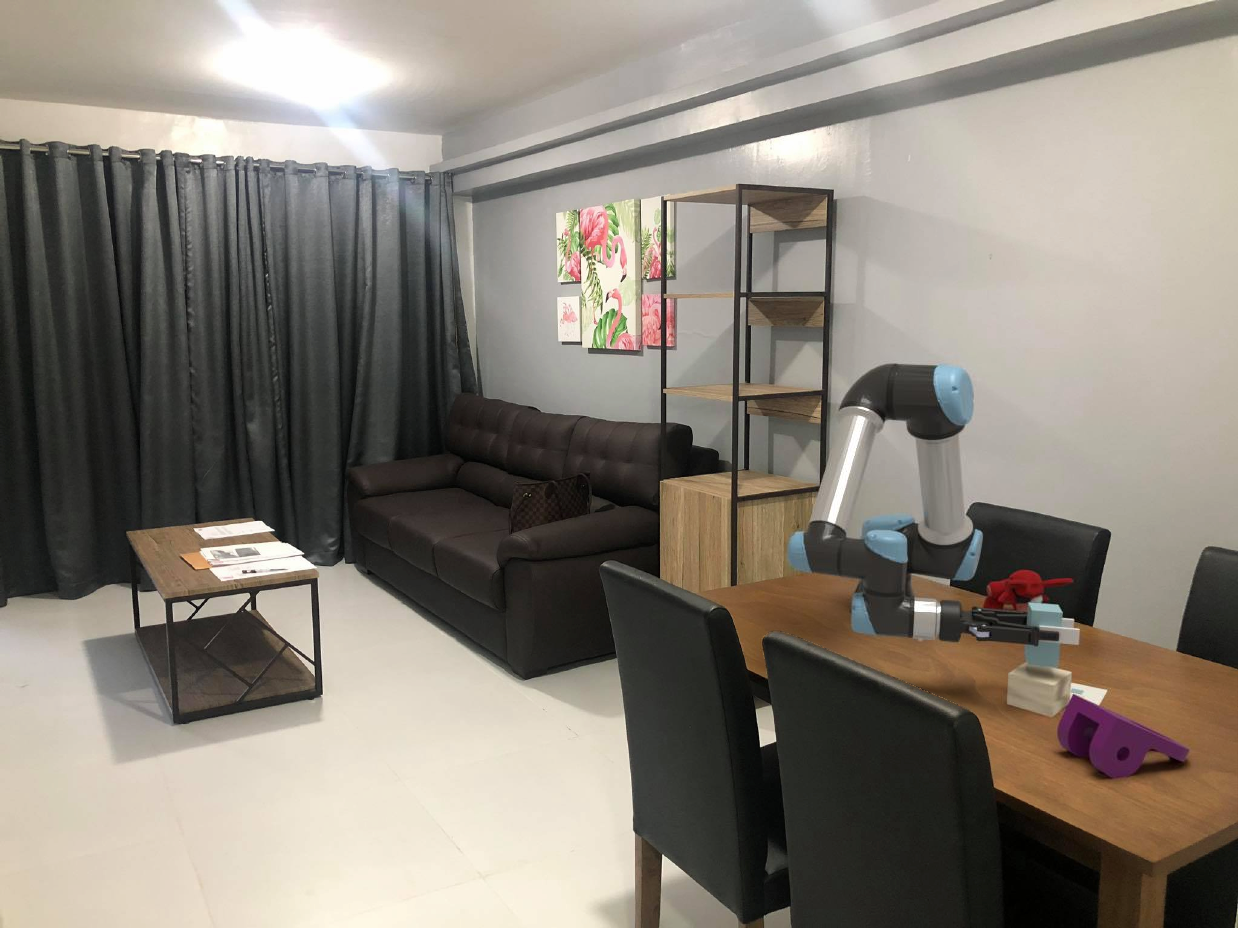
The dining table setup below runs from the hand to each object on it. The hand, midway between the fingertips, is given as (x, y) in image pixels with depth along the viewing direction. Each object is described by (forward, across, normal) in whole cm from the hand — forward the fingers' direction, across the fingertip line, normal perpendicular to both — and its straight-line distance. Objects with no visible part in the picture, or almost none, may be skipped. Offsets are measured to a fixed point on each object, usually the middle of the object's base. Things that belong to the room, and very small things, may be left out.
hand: (1075, 631), depth 173 cm
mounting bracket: (+6, +19, -15) cm, 25 cm away
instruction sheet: (+2, -6, -14) cm, 16 cm away
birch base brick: (-5, 0, -14) cm, 15 cm away
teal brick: (-5, 0, -6) cm, 8 cm away
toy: (-2, -52, -14) cm, 53 cm away
